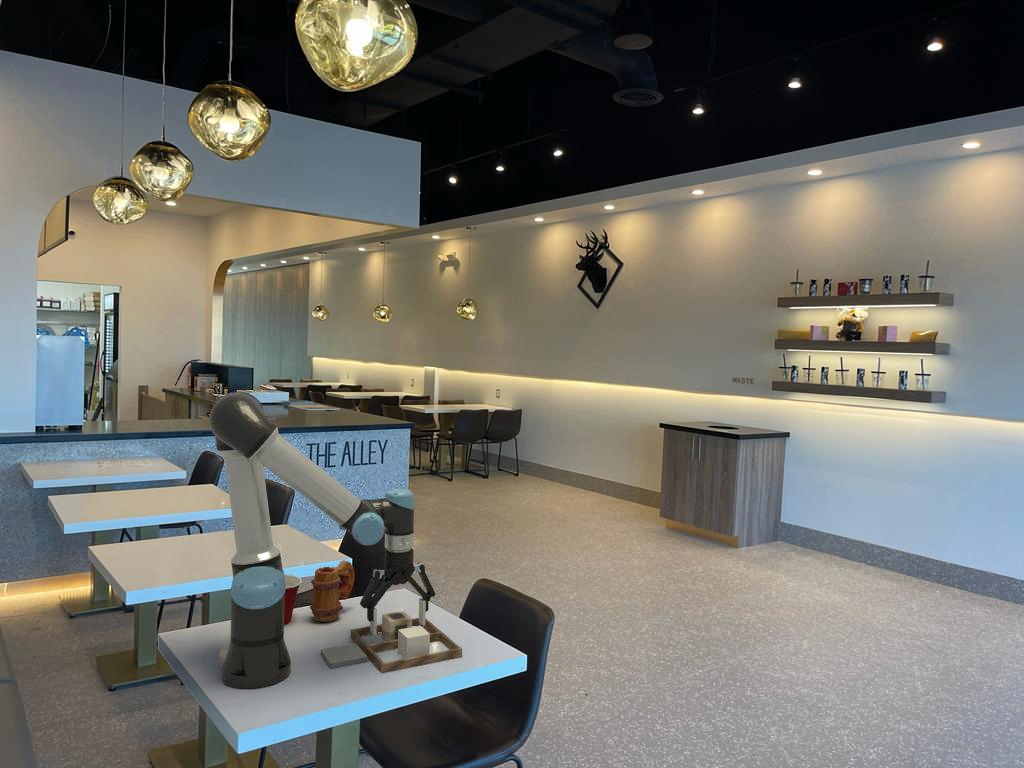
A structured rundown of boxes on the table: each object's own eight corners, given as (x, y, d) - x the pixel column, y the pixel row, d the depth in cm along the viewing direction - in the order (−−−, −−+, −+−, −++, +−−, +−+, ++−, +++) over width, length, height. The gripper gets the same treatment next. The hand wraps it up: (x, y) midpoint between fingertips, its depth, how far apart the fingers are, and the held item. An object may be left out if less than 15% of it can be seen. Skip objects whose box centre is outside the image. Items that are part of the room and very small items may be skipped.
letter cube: (389, 645, 184) (390, 621, 184) (381, 636, 190) (382, 614, 189) (411, 641, 187) (412, 618, 187) (402, 632, 193) (403, 610, 192)
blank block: (406, 662, 174) (407, 638, 174) (397, 653, 180) (398, 629, 179) (429, 657, 177) (429, 634, 177) (419, 648, 183) (420, 625, 182)
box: (381, 673, 168) (382, 664, 168) (350, 636, 188) (350, 629, 188) (461, 656, 178) (462, 648, 178) (423, 624, 199) (424, 617, 199)
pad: (330, 668, 169) (330, 663, 169) (320, 654, 177) (320, 649, 177) (367, 661, 174) (367, 656, 174) (355, 647, 182) (355, 643, 181)
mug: (323, 627, 194) (324, 573, 193) (302, 620, 198) (304, 567, 198) (361, 612, 206) (363, 561, 206) (341, 606, 211) (343, 556, 210)
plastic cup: (288, 631, 190) (289, 587, 190) (251, 627, 193) (252, 583, 192) (308, 617, 201) (309, 575, 201) (273, 613, 203) (274, 571, 203)
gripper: (357, 558, 178) (356, 642, 179) (448, 546, 191) (447, 624, 192) (348, 550, 184) (347, 631, 185) (436, 539, 197) (435, 615, 198)
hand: (398, 628), depth 188 cm, fingers open, 13 cm apart
